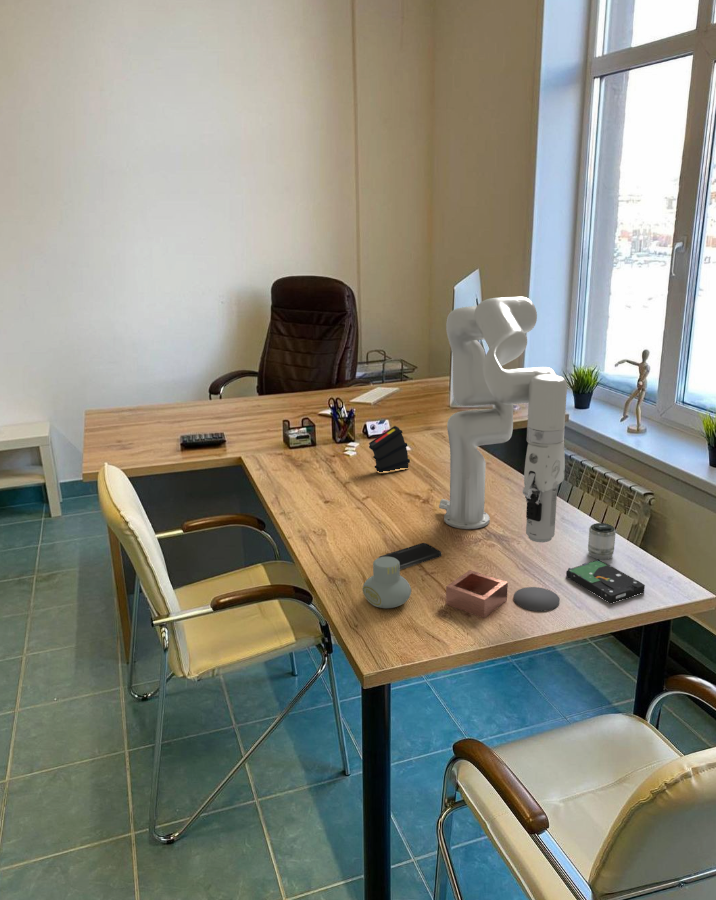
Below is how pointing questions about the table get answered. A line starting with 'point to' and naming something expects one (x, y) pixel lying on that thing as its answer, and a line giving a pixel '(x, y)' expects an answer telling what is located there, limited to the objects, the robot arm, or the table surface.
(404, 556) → the phone
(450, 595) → the collar
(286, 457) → the table surface
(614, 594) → the disk drive
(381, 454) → the magazine
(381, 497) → the table surface
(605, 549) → the camera lens
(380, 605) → the air freshener
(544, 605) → the mat
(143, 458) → the table surface
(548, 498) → the energy drink can
